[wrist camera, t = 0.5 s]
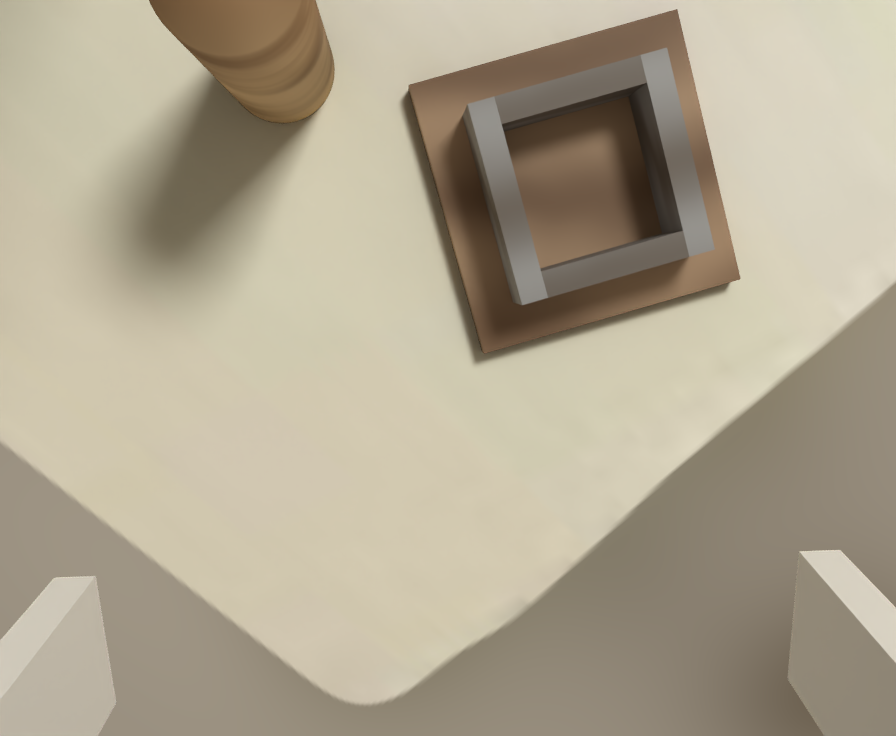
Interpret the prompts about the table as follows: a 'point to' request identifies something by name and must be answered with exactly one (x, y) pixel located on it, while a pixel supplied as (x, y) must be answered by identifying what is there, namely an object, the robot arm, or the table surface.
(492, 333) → the socket board
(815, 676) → the robot arm
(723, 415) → the table surface
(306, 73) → the oak pin
